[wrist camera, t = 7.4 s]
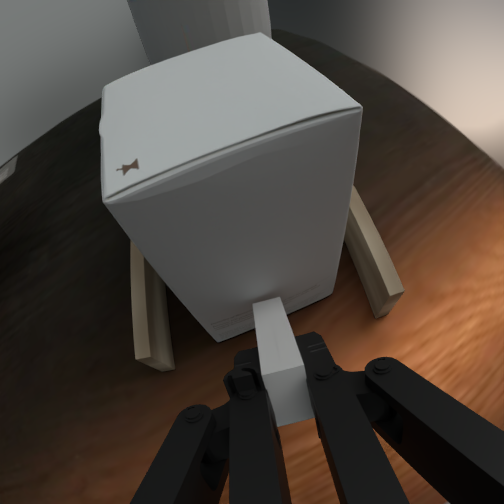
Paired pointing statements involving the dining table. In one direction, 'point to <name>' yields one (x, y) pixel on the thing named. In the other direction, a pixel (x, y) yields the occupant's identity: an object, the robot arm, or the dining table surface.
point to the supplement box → (232, 176)
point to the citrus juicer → (195, 24)
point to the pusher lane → (155, 301)
